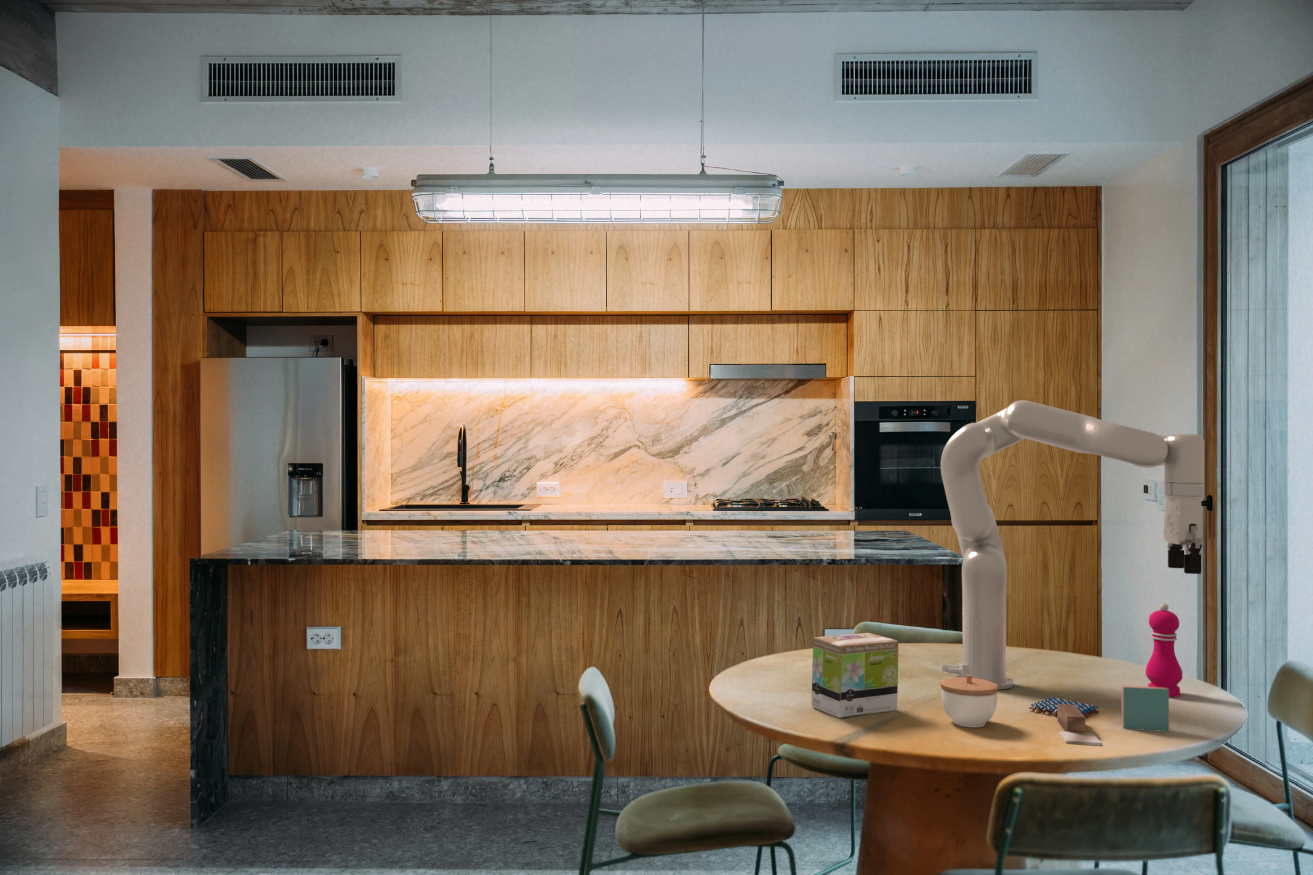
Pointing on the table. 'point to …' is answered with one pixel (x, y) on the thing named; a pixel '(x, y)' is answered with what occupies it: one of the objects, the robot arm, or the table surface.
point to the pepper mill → (1164, 652)
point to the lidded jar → (969, 700)
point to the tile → (1145, 708)
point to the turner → (1074, 726)
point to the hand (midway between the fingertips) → (1184, 570)
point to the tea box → (854, 674)
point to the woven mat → (1051, 703)
